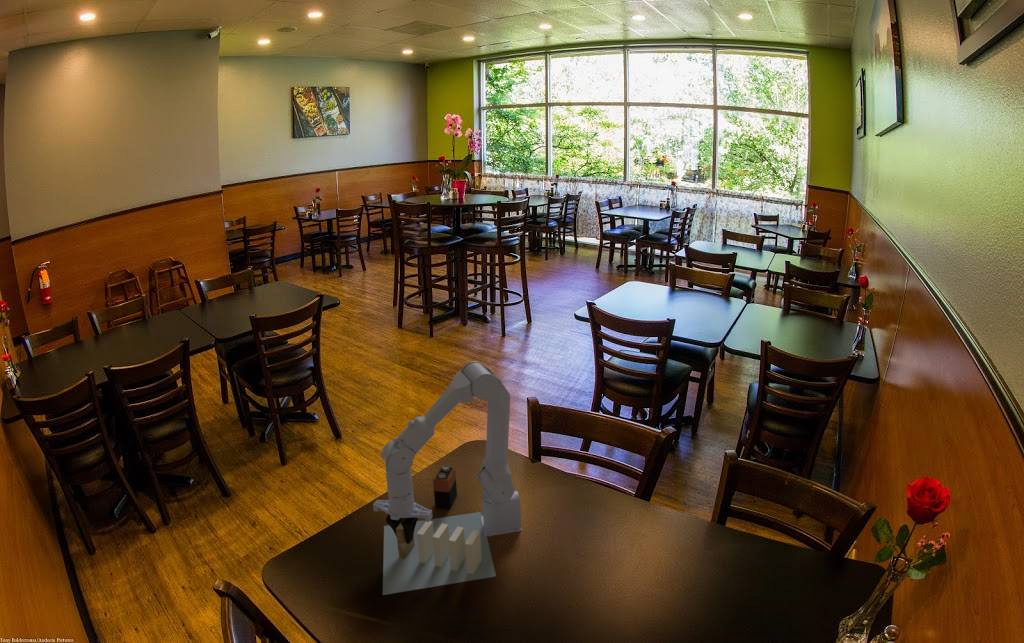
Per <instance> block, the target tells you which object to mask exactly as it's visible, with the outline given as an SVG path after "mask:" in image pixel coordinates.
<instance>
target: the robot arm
mask: <svg viewBox="0 0 1024 643" xmlns="http://www.w3.org/2000/svg"><path fill="white" fill-rule="evenodd" d="M474 397H475V398H476V399H478V400H480V401H483V402H484V401H485V402H487V416H486V417H487V418H486V419H487V420H486V440H485V441H486V446H485V458H484V459H483V460H482V461H481V467H480V470H479V471H478V474H477V480H478V482H479V484H481V485H482V493H481V498H482V501H481V502H482V516H481V517H480V518H481V523H482V527H483V531H484V535H485V536H487V537H491V536H492V537H493V536H498V535H504V534H505V535H506V534H511V533H517V532H521V531H522V530H523V528H522V508H521V500H520V495H519V491H518V490H515V486H514V483H513V481H512V480H513V479H512V478H513V477H512V473H511V470H510V466H509V464H508V454H509V453H508V450H509V432H510V431H509V430H510V412H511V409H510V408H511V395H510V393H509V391H508V389H507V388H506V386H505V385H504V383H503V382H502V379H500V378H499V377H498V376H497V375H496V374H495V373H494V372H493V371H492V370H491V369H490V368H489V367H488V366H486V365H485V364H483V363H482V362H480V361H477V360H473V361H469V362H467V363H466V364H464V365H463V366H462V368H461V370H459V371H457V372H456V373H455V375H454V377H453V378H452V380H451V383H450V384H449V385H448V386H447V387H446V389H445V390H444V391H443V392H442V393H441V395H440V396H439V397H438V399H437V400H436V401H435V402H434V404H433V405H432V406H431V407H430V408H429V409H428V410H427V412H426V413H425V414H424V415H421V416H416V417H415V418H414V419H413V420H411V419H410V420H409V421H408V422H407V424H406V425H407V426H406V427H405V428H404V430H402V432H401V433H400V434H399V435H398V436H397V437H394V438H393V439H392V440H391V441H388V442H387V443H385V445H384V447H383V448H382V451H381V453H380V454H381V457H382V460H384V463H385V473H386V474H385V479H386V480H385V481H386V488H387V489H386V490H387V496H388V499H384V500H383V499H377V500H375V501H374V503H373V504H372V507H373V508H372V509H373V512H379V511H381V512H384V513H385V514H387V516H386V518H385V523H386V524H388V525H390V527H391V528H392V529H393V531H394V533H395V535H396V528H397V527H398V525H399V524H400V523H401V525H402V527H403V529H404V532H405V539H406V543H407V544H410V542H411V541H412V540H413V535H414V530H415V526H416V523H417V521H419V519H421V520H425V521H426V522H429V521H430V520H431V519H433V517H434V516H433V509H428V508H427V507H425V506H422V505H421V504H418V503H417V502H415V496H414V487H413V479H412V478H413V475H412V474H413V473H412V471H411V468H413V467H412V466H413V463H414V458H415V457H416V455H417V454H418V452H420V451H421V449H422V448H423V447H424V446H425V445H426V444H427V443H428V442H429V440H430V439H432V437H433V436H434V435H435V432H436V431H435V429H436V426H437V425H438V424H439V423H440V422H441V421H442V420H443V419H445V417H446V416H448V414H450V412H452V410H454V408H456V407H457V406H458V405H459V404H460V403H474V402H476V400H475V398H474ZM403 519H404V520H403ZM396 537H397V535H396Z"/></svg>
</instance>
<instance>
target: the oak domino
mask: <svg viewBox="0 0 1024 643" xmlns="http://www.w3.org/2000/svg"><path fill="white" fill-rule="evenodd" d="M403 520H404V519H403ZM396 535H397V544H398V553H399V557H400V558H406V557H407V555H408V554H409V552H410V551H411V550H412V548H413V547H414V546H415V540H414V535H413V540H412V541H411V542H410V544H407V543H406V539H405V532H404V529H403V527H402V525H401V523H400V524H399V525H398V527H397V528H396Z"/></svg>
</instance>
